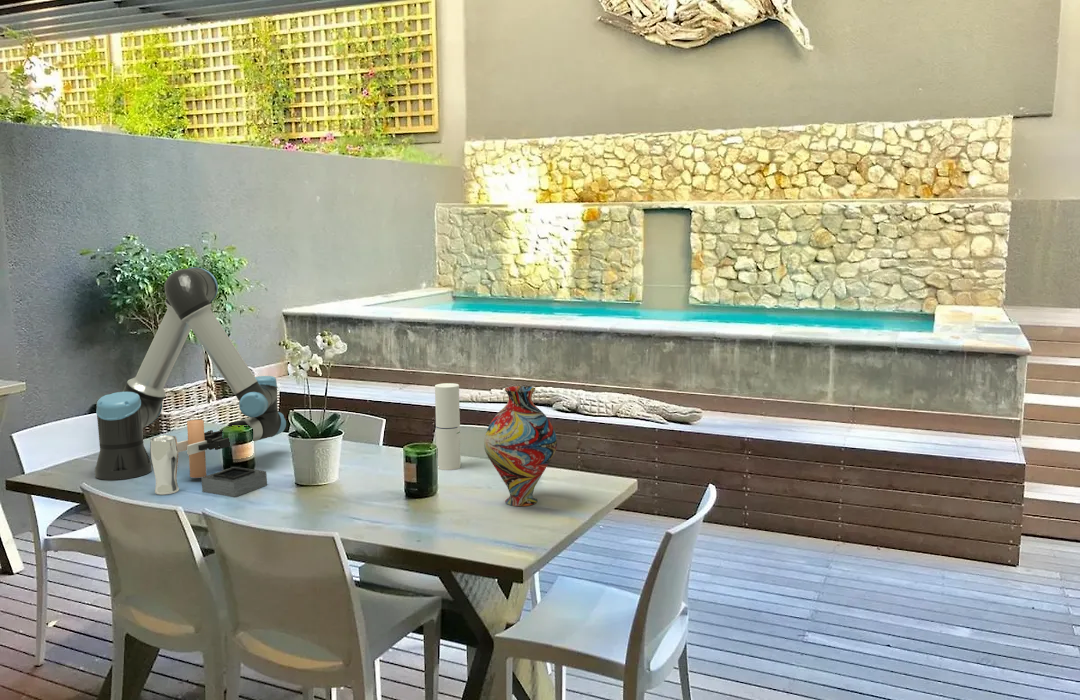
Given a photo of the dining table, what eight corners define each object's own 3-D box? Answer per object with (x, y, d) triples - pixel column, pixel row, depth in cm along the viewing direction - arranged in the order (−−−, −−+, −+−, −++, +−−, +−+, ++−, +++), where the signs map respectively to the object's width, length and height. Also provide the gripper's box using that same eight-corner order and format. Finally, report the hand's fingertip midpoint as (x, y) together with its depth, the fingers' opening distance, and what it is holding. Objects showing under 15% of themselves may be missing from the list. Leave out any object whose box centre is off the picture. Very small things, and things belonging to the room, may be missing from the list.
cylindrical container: (432, 466, 255) (430, 385, 252) (451, 462, 260) (449, 382, 257) (446, 471, 250) (444, 388, 247) (465, 466, 255) (463, 385, 252)
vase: (475, 495, 227) (473, 385, 223) (541, 487, 234) (540, 380, 230) (499, 517, 209) (497, 398, 205) (568, 507, 216) (568, 392, 212)
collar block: (202, 491, 232) (201, 475, 232) (235, 480, 243) (234, 464, 242) (235, 497, 227) (234, 480, 227) (267, 485, 238) (266, 469, 237)
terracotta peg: (186, 476, 242) (183, 422, 240) (198, 472, 246) (195, 419, 244) (197, 478, 241) (194, 423, 238) (209, 474, 245) (207, 420, 242)
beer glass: (171, 486, 237) (168, 434, 235) (185, 490, 233) (182, 437, 231) (148, 492, 232) (144, 439, 230) (162, 496, 228) (158, 442, 226)
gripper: (265, 447, 255) (204, 465, 234) (222, 441, 263) (160, 458, 242) (264, 422, 254) (203, 439, 233) (221, 417, 262) (158, 433, 241)
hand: (181, 449), depth 238 cm, fingers closed on terracotta peg, 4 cm apart
